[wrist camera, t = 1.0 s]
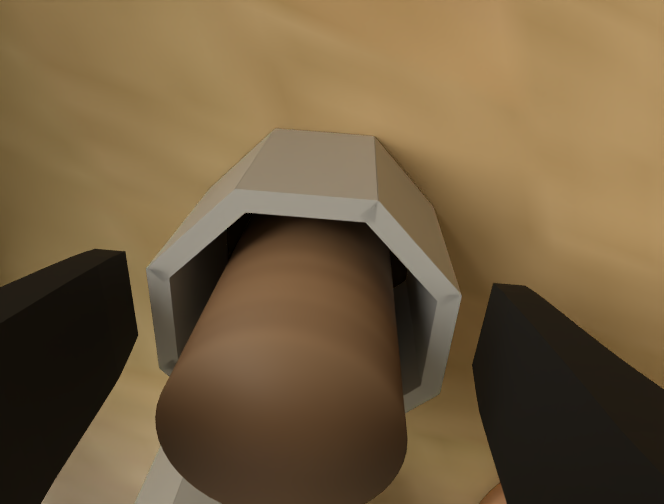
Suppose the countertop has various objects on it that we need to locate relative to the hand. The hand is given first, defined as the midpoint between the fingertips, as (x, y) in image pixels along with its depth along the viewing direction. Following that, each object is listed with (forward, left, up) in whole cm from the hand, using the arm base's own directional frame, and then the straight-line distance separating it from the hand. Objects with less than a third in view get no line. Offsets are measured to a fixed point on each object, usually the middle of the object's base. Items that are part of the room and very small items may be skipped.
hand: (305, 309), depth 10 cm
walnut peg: (0, 0, -3) cm, 3 cm away
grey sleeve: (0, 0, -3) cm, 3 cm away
